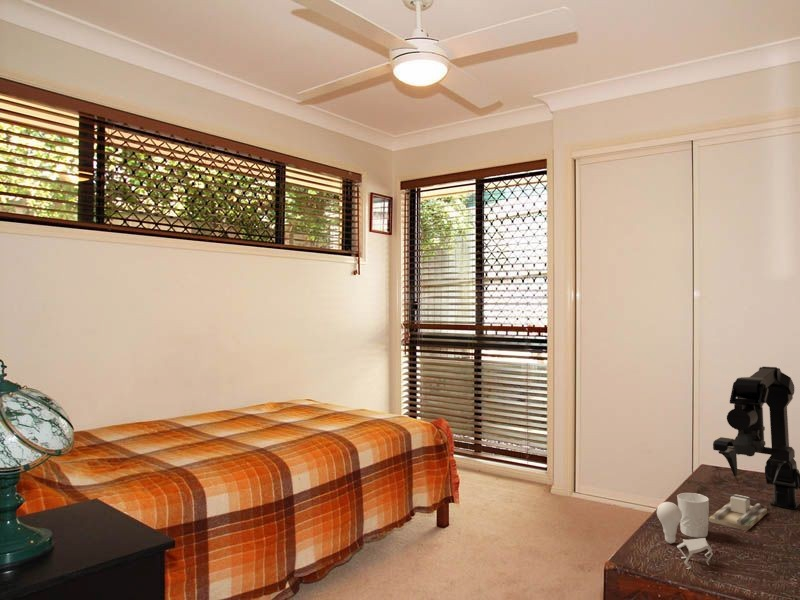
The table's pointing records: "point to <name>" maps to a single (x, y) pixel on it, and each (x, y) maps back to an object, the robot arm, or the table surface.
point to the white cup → (694, 514)
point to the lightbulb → (669, 519)
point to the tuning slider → (739, 503)
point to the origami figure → (695, 548)
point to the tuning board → (738, 517)
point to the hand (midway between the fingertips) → (753, 479)
